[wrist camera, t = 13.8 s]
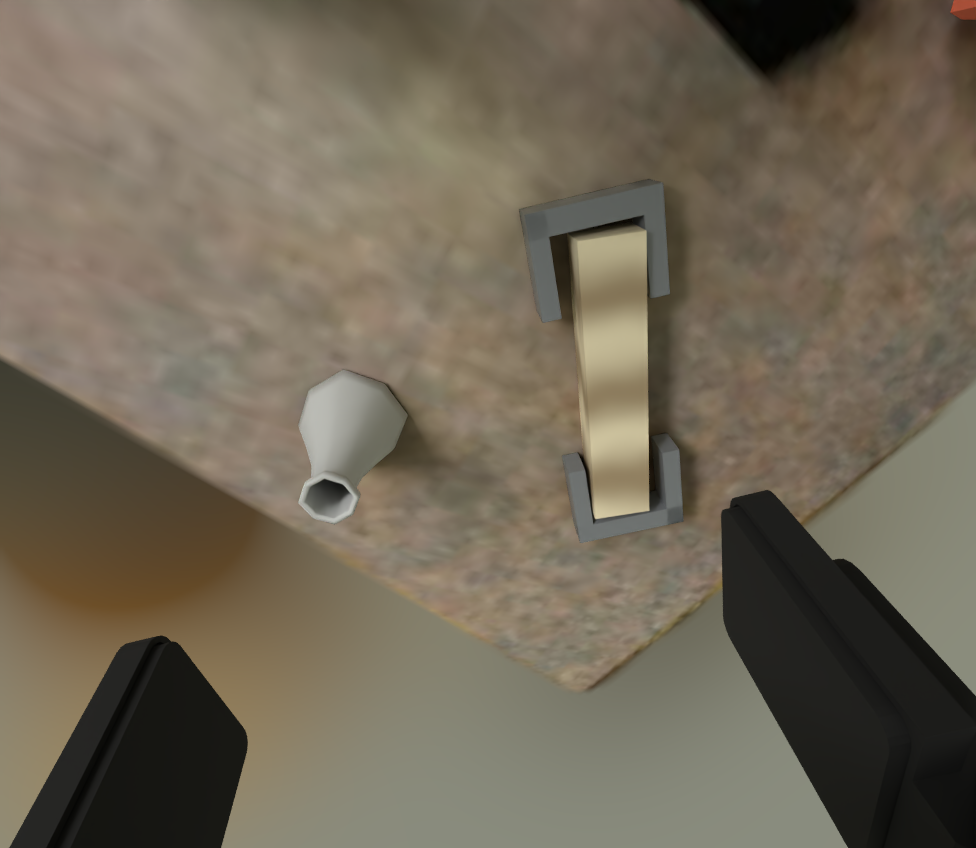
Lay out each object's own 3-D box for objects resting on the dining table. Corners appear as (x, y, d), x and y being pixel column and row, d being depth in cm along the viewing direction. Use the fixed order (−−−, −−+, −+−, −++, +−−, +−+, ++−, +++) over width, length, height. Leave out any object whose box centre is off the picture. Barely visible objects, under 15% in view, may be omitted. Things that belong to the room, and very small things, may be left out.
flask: (426, 411, 41) (421, 491, 32) (365, 478, 43) (345, 570, 34) (340, 349, 38) (309, 418, 29) (280, 424, 40) (235, 508, 31)
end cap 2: (561, 455, 43) (568, 473, 41) (666, 432, 43) (679, 449, 40) (573, 523, 46) (580, 543, 44) (671, 502, 46) (683, 521, 44)
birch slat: (566, 231, 36) (577, 241, 33) (629, 221, 36) (646, 230, 33) (585, 492, 45) (595, 519, 42) (635, 484, 45) (649, 510, 42)
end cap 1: (656, 284, 37) (669, 294, 35) (536, 311, 38) (542, 322, 35) (648, 179, 34) (663, 182, 32) (518, 209, 35) (524, 214, 32)
